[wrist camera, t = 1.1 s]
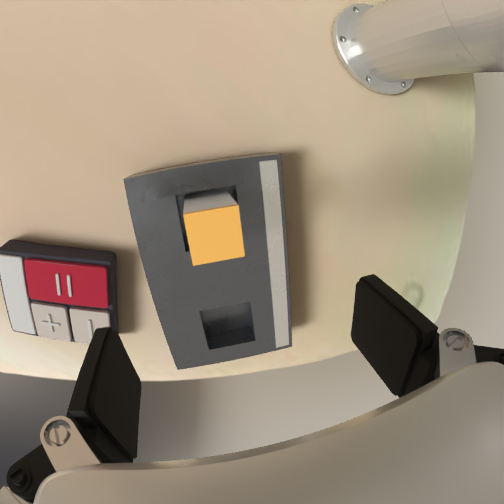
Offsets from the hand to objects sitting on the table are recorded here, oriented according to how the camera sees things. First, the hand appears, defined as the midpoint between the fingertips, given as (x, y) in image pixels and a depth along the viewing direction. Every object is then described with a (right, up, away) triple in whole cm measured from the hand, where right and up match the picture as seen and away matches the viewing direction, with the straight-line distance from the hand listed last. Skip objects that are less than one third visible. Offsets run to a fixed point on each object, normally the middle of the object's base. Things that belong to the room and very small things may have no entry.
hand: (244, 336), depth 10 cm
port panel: (-4, +2, +21) cm, 21 cm away
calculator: (-22, -1, +18) cm, 29 cm away
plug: (-4, +7, +18) cm, 20 cm away
